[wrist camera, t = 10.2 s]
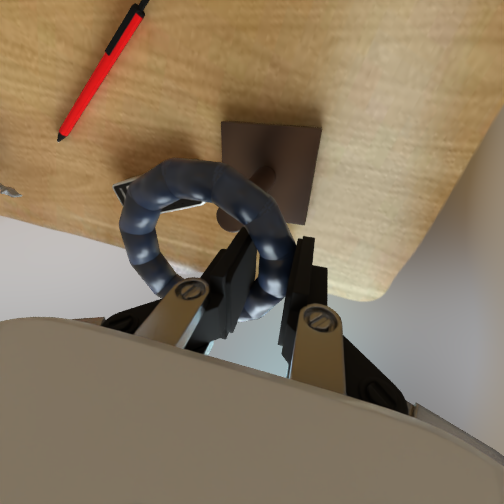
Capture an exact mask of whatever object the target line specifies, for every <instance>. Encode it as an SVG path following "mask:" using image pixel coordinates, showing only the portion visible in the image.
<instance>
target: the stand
mask: <svg viewBox="0 0 504 504" xmlns="http://www.w3.org/2000/svg"><path fill="white" fill-rule="evenodd" d="M321 132H322V127H311V126H296V125H282V124H267V123H252V122H238V121H222V122H221V138H222V163H226V164H228V165H230V166H231V167H233V168H234V169H236V170H237V171H238V172H240V173H241V174H242V175H244V176H245V177H246V178H248V179H249V180H250V181H252V182H253V183H255V184H256V185H257V186H259V187H260V188H261V189H263V190H264V191H265V192H267V193H268V194H270V195H271V196H272V197H273V198H274V199H275V201H276V202H277V204H278V207H279V209H280V211H281V213H282V215H283V217H284V220H285V222H286V223H293V224H299V225H305V222H306V216H307V211H308V205H309V199H310V194H311V188H312V183H313V177H314V171H315V166H316V160H317V155H318V149H319V144H320V138H321ZM216 217H217V221H218V223H219V225H220V226H221V227H222V228H223V229H224V230H226V231H228V232H239V231H240V229H241V228H242V227H245V226H244V225H243V224H242V223H240V222H239V221H238V220H236V219H235V218H233V217H232V216H231V215H229V214H228V213H226V212H225V211H224V210H222V209H221V208H218V210H217V216H216Z"/></svg>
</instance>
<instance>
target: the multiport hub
mask: <svg viewBox="0 0 504 504" xmlns="http://www.w3.org/2000/svg"><path fill="white" fill-rule="evenodd" d="M194 160H198V159H194ZM140 176H141V175H139V176H136V177H133V178H129V179H126V180H123V181H121V182H118V183H116V184H113V186H112V187H113V190H114V191H115V193H116V195H117V197H118V199H119V200H120V202H121V204H122V206H123V205H124V201H125V198H126V194H127V190H128V187H129V185H130V184H131V183H132V181H134V180H135V179H137V178H138V177H140ZM205 203H206V202H203V201H196V200H189V199H180V200H178V201H176V202H174V203H172V204H170V205H168V206H166V207H164V208H162V211H161V213H160V214H162V213H166V212H171V211H176V210H181V209H186V208H191V207H196V206H201V205H203V204H205Z"/></svg>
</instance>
